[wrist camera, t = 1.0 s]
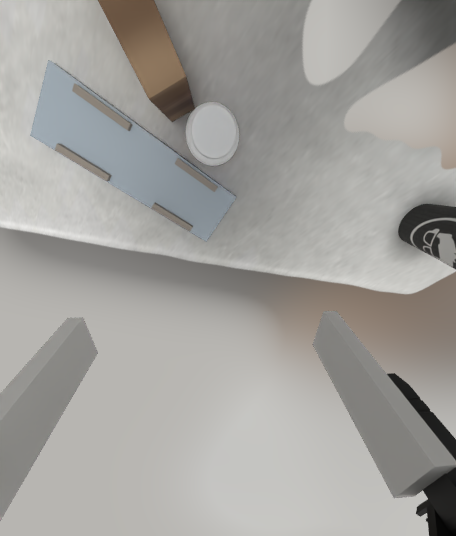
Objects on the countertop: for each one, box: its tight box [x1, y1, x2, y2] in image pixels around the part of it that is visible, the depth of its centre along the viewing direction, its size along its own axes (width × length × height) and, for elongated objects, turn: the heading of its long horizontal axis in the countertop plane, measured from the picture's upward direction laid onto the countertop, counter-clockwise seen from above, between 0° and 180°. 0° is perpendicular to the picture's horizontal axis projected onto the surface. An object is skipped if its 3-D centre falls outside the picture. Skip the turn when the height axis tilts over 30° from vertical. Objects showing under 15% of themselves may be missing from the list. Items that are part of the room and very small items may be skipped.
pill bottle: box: [185, 102, 239, 166], centre depth 22 cm, size 5×5×10 cm
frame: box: [98, 0, 195, 122], centre depth 17 cm, size 12×3×11 cm, turn 25°
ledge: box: [30, 60, 236, 242], centre depth 26 cm, size 8×24×2 cm, turn 55°
